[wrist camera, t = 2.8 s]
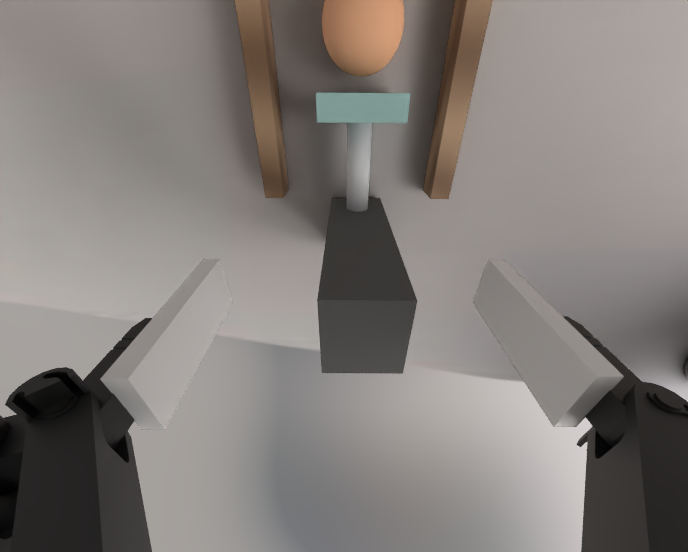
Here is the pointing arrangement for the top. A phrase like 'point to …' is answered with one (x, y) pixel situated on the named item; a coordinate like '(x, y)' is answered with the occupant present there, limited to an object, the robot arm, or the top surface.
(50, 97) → the top surface
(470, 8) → the lane
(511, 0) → the top surface
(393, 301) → the striker
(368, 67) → the brown egg
